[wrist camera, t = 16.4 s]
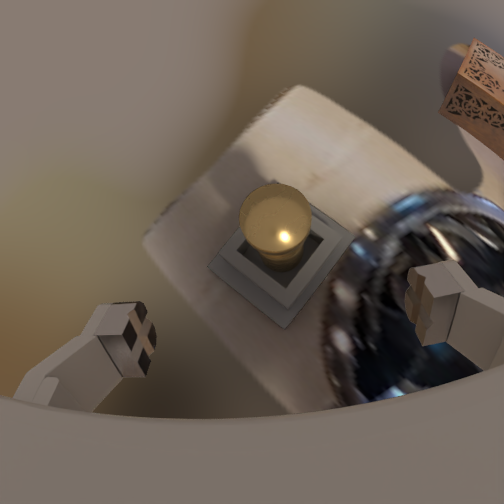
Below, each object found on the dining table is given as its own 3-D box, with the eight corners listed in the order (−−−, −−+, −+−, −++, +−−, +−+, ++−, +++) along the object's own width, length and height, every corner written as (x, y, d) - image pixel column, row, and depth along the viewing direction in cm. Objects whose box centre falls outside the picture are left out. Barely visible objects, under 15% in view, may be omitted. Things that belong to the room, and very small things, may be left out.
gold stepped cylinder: (285, 288, 38) (280, 265, 27) (244, 255, 39) (224, 221, 29) (319, 246, 38) (326, 210, 28) (277, 216, 40) (270, 171, 30)
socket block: (284, 329, 38) (283, 328, 34) (209, 268, 41) (200, 261, 37) (353, 239, 39) (359, 228, 35) (278, 186, 42) (276, 171, 38)
